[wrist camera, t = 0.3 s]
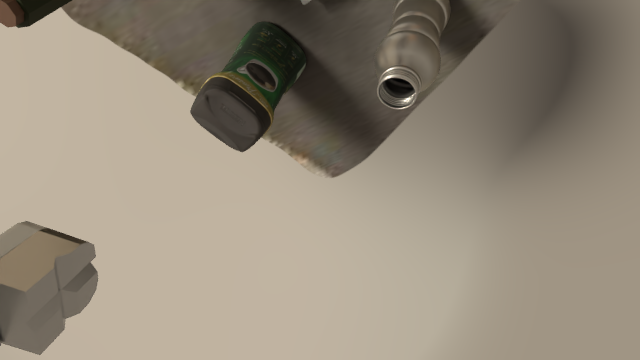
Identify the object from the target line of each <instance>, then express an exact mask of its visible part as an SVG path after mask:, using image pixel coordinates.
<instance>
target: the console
mask: <svg viewBox="0 0 640 360" xmlns="http://www.w3.org/2000/svg"><path fill="white" fill-rule="evenodd" d="M300 1H301V2H302V4H303V5H305V4H307V3H308V2H310V1H311V0H300Z"/></svg>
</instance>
